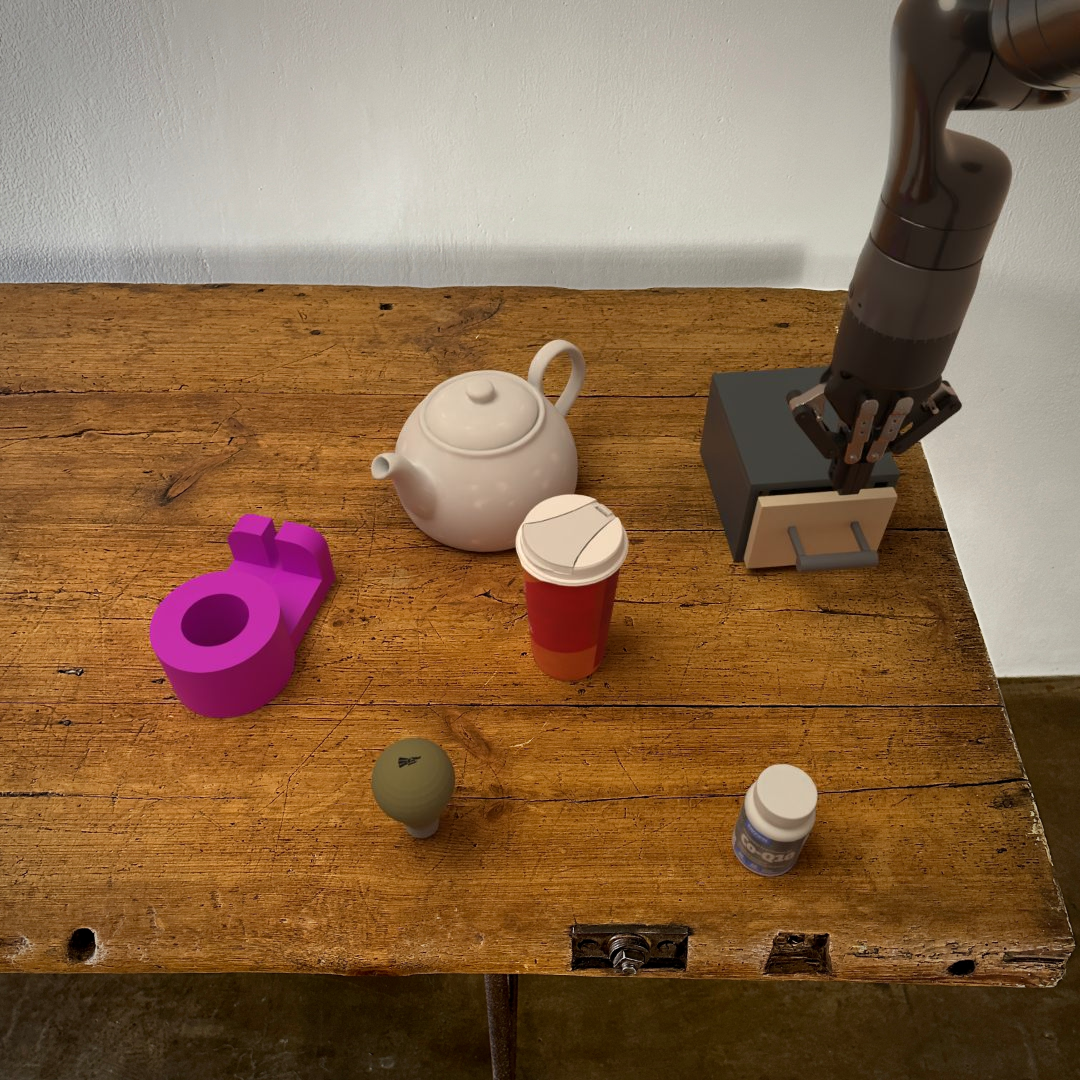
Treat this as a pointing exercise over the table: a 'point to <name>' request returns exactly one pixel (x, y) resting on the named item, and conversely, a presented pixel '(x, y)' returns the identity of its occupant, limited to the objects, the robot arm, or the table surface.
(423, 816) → the light bulb
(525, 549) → the coffee cup
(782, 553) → the storage drawer
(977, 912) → the table surface
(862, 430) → the robot arm
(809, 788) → the pill bottle
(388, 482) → the table surface
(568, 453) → the teapot
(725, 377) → the cabinet
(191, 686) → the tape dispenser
